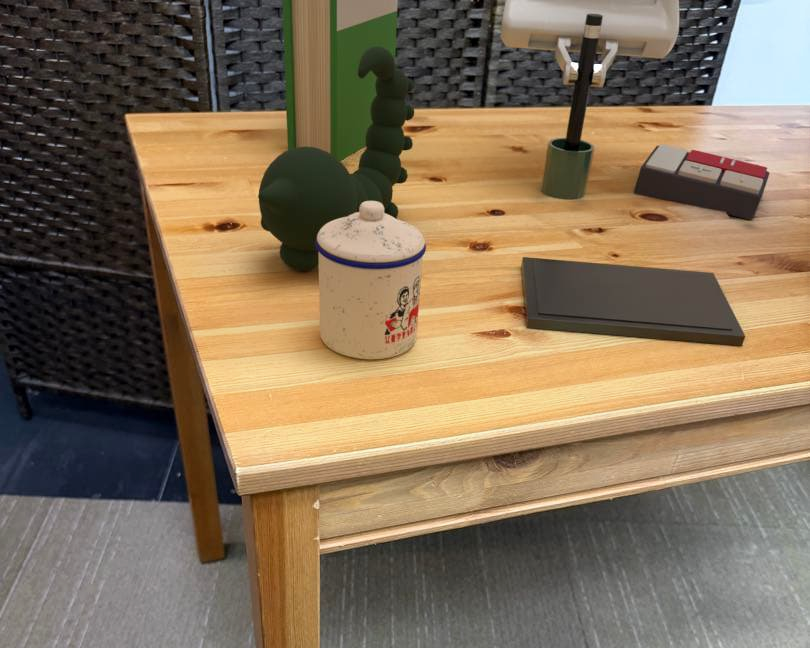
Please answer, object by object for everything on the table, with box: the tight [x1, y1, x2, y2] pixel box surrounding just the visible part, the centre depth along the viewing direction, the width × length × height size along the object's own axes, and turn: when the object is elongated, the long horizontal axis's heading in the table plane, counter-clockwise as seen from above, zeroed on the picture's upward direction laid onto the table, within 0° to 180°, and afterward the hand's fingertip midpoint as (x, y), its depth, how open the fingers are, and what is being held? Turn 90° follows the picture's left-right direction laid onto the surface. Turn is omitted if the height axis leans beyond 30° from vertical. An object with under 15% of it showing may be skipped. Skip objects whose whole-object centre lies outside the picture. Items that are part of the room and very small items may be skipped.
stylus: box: [564, 14, 603, 151], centre depth 95 cm, size 2×2×15 cm
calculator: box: [633, 143, 771, 221], centre depth 104 cm, size 11×4×15 cm
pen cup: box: [540, 137, 596, 201], centre depth 101 cm, size 6×6×6 cm
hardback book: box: [281, 0, 399, 162], centre depth 107 cm, size 18×7×24 cm, turn 156°
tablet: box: [521, 256, 746, 347], centre depth 80 cm, size 20×14×1 cm
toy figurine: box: [257, 46, 415, 272], centre depth 81 cm, size 9×19×25 cm
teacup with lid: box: [315, 201, 427, 360], centre depth 70 cm, size 12×9×12 cm
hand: (583, 83), depth 94 cm, fingers closed on stylus, 2 cm apart
